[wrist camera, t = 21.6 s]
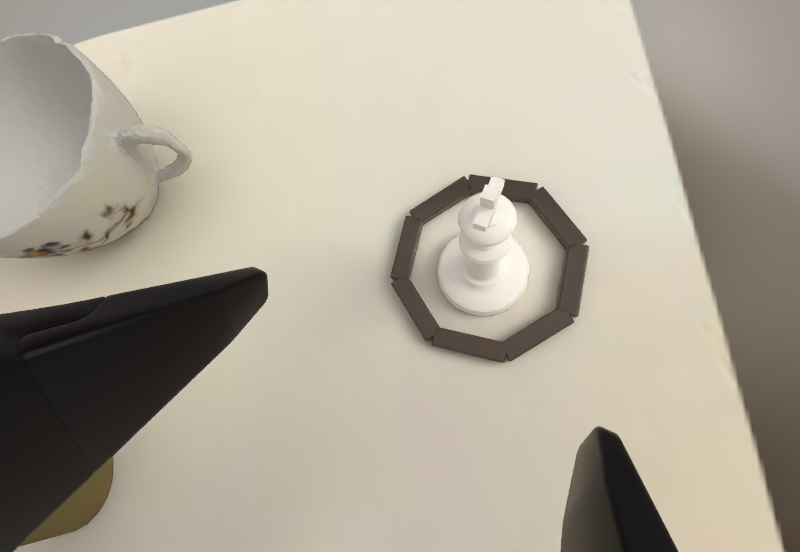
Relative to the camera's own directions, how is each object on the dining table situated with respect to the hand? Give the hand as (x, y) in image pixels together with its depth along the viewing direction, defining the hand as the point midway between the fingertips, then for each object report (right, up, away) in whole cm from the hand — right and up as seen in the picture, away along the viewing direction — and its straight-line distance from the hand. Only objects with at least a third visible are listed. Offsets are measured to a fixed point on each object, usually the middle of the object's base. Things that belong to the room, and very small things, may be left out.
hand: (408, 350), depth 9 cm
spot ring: (+5, +2, +11) cm, 13 cm away
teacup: (-19, +7, +17) cm, 27 cm away
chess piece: (+4, +2, +11) cm, 12 cm away
